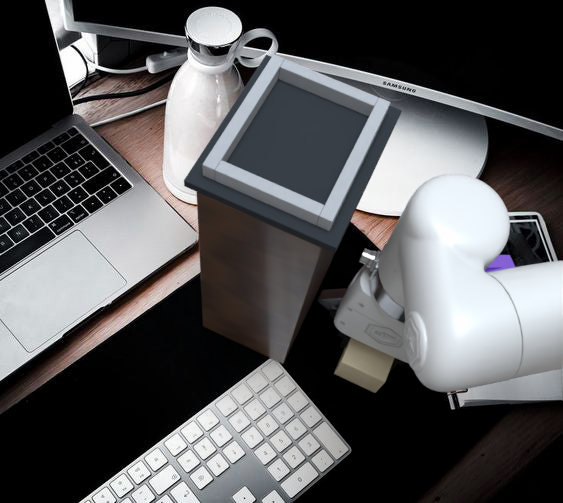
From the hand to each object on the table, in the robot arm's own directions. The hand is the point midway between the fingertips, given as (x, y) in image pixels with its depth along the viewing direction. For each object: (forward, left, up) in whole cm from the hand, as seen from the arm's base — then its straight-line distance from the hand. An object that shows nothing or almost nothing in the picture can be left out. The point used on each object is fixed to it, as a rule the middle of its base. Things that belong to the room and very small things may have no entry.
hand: (369, 347), depth 70 cm
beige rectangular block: (0, 0, 0) cm, 0 cm away
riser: (+13, -1, 0) cm, 13 cm away
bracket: (-9, -12, -1) cm, 15 cm away
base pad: (+13, -1, +28) cm, 31 cm away
